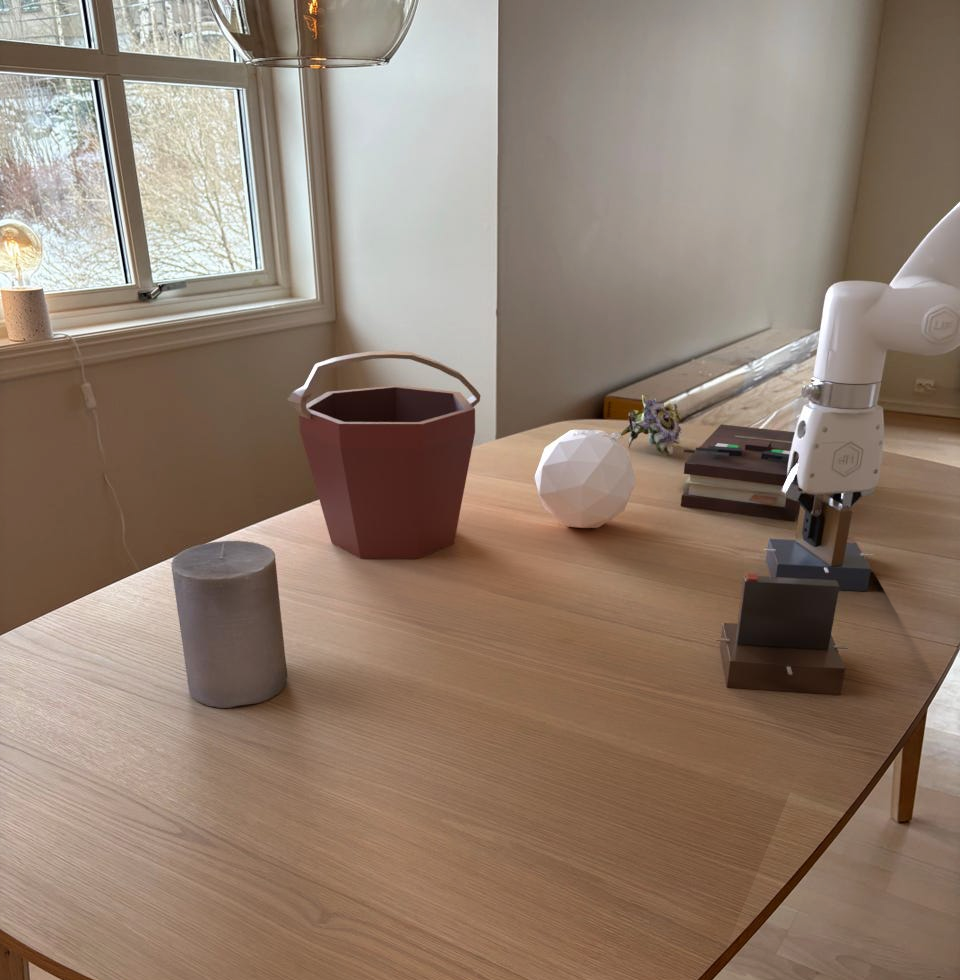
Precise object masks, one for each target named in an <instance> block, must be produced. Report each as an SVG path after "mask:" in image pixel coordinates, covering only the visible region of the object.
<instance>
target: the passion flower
mask: <svg viewBox="0 0 960 980" xmlns="http://www.w3.org/2000/svg"><path fill="white" fill-rule="evenodd" d="M641 400H642V405H643V408H642V409H641V410H642V413H639V410H637V409H632V410H631V411H629V413H628V423H629V424H628V425H627V427H625V429H623V430H622V432H621V433H620V436H621V437H622V436H624V435H625V436H626V435H627V434H628V433H630V434H629V435H630V436H629V438H628V447H627V448H628V449H630V447H631V445H632V442H633V441H634V440H636V439H637V438H638V436H639V435H640V434H644V435H648V434H650V435H649V438H648V441H649V444H651V445H654V447H655V448H656V451H658V453H660V454H664V453H665V454H666V455H668V456H672V455H673V453H674V444H676V445H680V444H681V440H680V434H682V428H681V426H680V424H681V423H682V422H681V420H682V416H681V414H680V413H679V412H678V411H679V410H678V406H677V404H675V403H674V404H673V405H672V404H671V403H667V404H665V405H664V402H662V403H659V401H658V400H657V399H656V398H653V399H652V400H651V401H650V400H649V399H647V396H646V394H645V395H644V394H642V395H641ZM638 413H639V414H638ZM636 429H637V430H636Z"/></svg>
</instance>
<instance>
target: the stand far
mask: <svg viewBox="0 0 960 980" xmlns="http://www.w3.org/2000/svg"><path fill="white" fill-rule="evenodd" d="M763 551H764V552H766V555H765V561H766V564H767V567H768V571H769V574H770V577H783V578H801V579H820V580H836V581H837V583H838V585H839V591H851V592H853V591H854V592H868V588H869V581H870V576H871V571H872V567H870V565H869V563H868V561H867V560H866V558H865V557H874V554H873V553H862V551H861V549H860V547H859V545H858V544H857V543H856V542H847V545H846V550H845V556H844V561H843V565H840V566H830V565H829V564H827V563H826V562H824V561H823V560H821V559H820V558H819V557H817V556H816V555H814V554H813V553H812V552H810V551H809V550H807V549H806V548H804V547H803V546H802V545H800V544H799V543H797V542H796V541H795V539H786V538H785V539H784V538H783V539H782V538H768V541H767V548H763Z"/></svg>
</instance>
